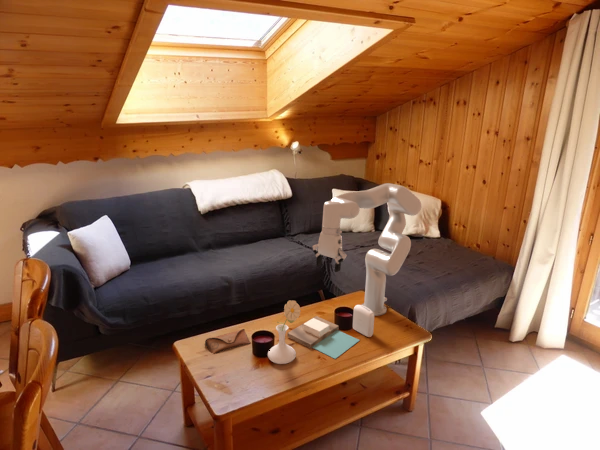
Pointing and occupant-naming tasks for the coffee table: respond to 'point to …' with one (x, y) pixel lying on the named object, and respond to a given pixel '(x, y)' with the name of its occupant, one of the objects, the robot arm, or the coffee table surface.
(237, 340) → the sunglasses case
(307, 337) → the riser
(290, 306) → the flower in vase
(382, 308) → the robot arm
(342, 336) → the mat
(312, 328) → the white flat block
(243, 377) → the coffee table surface
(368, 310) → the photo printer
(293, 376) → the coffee table surface
